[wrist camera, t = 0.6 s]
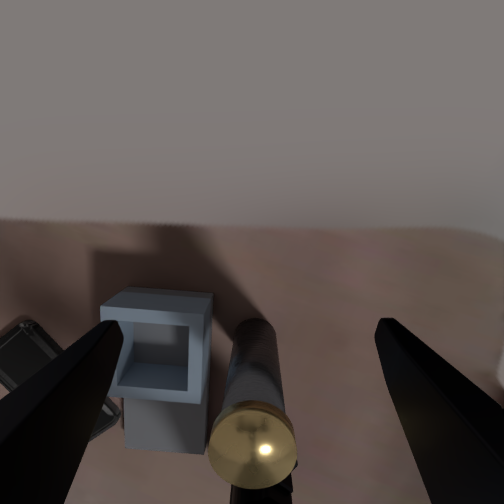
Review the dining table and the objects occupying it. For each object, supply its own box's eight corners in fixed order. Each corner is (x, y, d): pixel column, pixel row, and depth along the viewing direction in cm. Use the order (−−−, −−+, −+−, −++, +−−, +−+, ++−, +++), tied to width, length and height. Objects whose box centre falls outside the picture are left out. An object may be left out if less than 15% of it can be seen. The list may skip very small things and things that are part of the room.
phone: (24, 318, 28) (121, 420, 31) (33, 314, 30) (126, 412, 32) (-26, 358, 30) (71, 453, 32) (-16, 353, 31) (77, 445, 33)
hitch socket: (206, 442, 32) (197, 487, 27) (131, 436, 32) (108, 480, 27) (213, 293, 28) (203, 314, 23) (127, 286, 28) (100, 306, 23)
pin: (258, 368, 30) (258, 502, 17) (220, 340, 29) (190, 457, 16) (290, 334, 29) (315, 449, 16) (251, 305, 28) (245, 399, 15)
